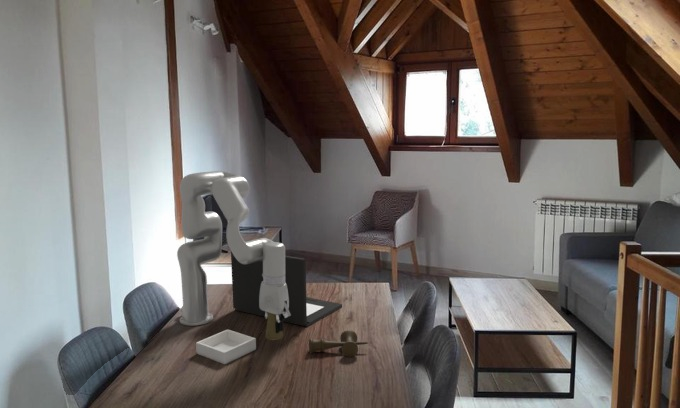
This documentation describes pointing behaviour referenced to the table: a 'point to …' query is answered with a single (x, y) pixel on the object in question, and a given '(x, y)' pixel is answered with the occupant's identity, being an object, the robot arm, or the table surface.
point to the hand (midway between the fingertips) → (274, 329)
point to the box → (226, 346)
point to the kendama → (338, 344)
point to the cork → (272, 328)
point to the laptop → (300, 306)
